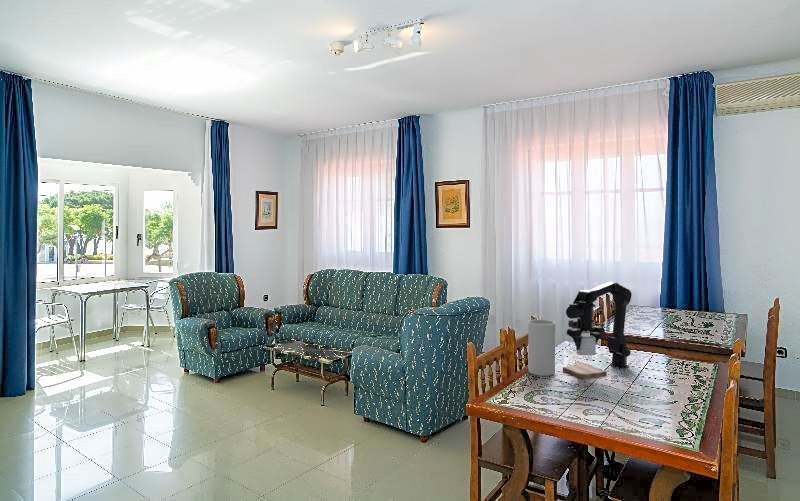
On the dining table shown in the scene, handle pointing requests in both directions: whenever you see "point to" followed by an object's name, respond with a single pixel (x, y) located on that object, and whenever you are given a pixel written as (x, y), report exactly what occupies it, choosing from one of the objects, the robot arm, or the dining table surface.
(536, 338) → the cylinder vase
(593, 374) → the walnut block
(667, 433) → the dining table surface
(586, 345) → the medicine box
